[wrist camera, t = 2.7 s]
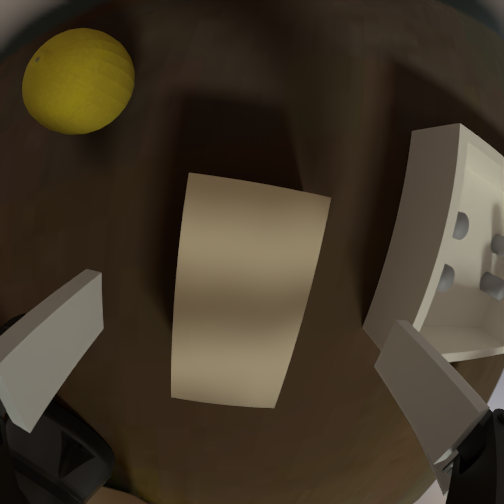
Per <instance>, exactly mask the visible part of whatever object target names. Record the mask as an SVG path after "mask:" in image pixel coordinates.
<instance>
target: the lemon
mask: <svg viewBox="0 0 504 504" xmlns="http://www.w3.org/2000/svg"><path fill="white" fill-rule="evenodd" d="M134 80H135V71H134V67H133V63H132V60H131V57H130V56H129V54H128V53H127V51H126V49H125V48H124V47H123V45H122V44H121V43H120V42H118V41H117V40H115V39H114V38H113V37H111V36H110V35H108V34H106V33H104V32H101V31H98V30H94V29H88V28H78V29H71V30H68V31H65V32H62V33H60V34H58V35H56V36H54V37H53V38H51V39H50V40H48V41H47V42H46V43H45V44H43V45H42V46H41V47H40V48H39V49H38V51H37V52H36V53H35V54H34V55H33V57H32V59H31V60H30V62H29V64H28V66H27V68H26V71H25V74H24V78H23V85H22V94H23V100H24V103H25V106H26V108H27V110H28V112H29V113H30V115H31V116H32V117H33V118H34V119H35V120H37V121H38V122H39V123H40V124H42V125H43V126H44V127H46V128H48V129H50V130H52V131H56V132H60V133H63V134H68V135H74V134H86V133H90V132H93V131H96V130H99V129H101V128H102V127H104V126H106V125H107V124H109V123H111V122H112V121H113V120H114V119H115V118H116V117H117V116H119V114H120V113H121V112H122V111H123V109H124V108H125V107H126V105H127V103H128V101H129V99H130V97H131V95H132V92H133V88H134Z"/></svg>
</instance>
